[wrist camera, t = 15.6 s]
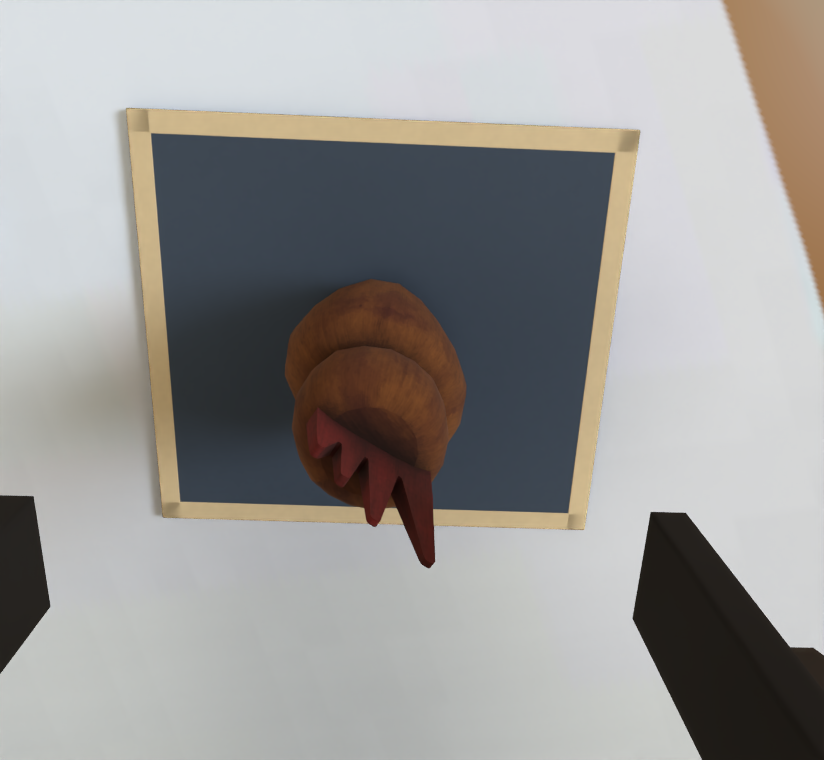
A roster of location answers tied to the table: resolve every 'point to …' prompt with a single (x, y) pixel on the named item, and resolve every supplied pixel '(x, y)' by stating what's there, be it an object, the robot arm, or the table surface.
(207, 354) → the framed chalkboard
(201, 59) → the table surface
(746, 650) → the robot arm
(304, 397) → the wooden figurine
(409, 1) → the table surface
